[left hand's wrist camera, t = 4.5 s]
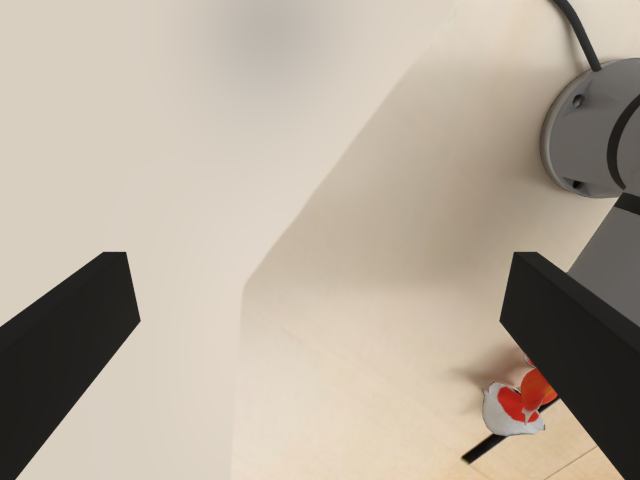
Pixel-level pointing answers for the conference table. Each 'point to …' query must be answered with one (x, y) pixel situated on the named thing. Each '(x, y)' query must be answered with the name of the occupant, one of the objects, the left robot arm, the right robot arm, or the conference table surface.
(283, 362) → the conference table surface
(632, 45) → the conference table surface
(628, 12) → the conference table surface
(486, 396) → the fish
